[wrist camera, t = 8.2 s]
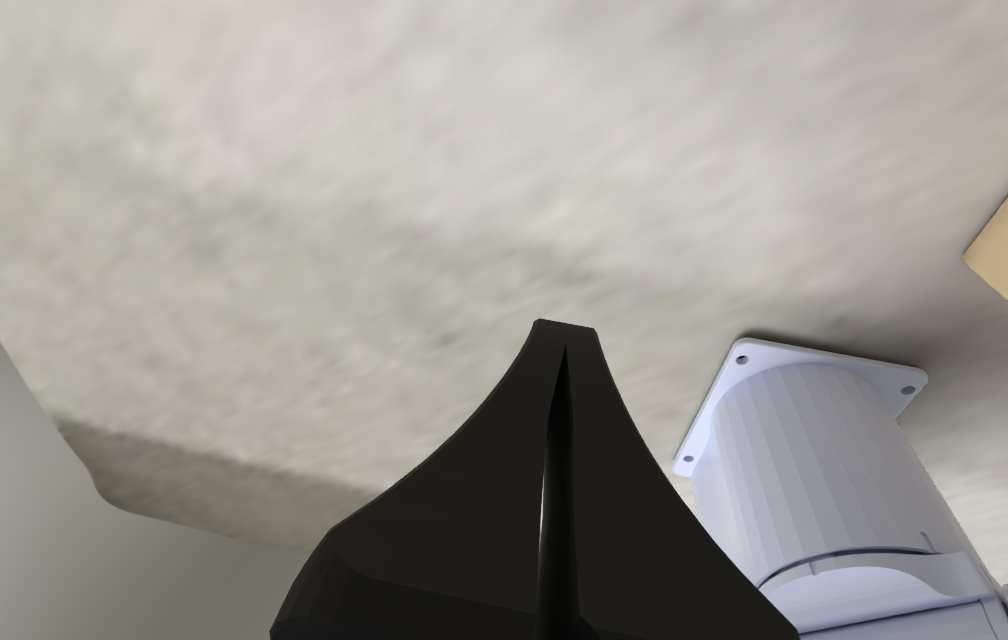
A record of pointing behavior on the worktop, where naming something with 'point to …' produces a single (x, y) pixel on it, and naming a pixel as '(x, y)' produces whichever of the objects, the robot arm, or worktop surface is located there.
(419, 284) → the worktop surface
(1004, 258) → the lidded box
